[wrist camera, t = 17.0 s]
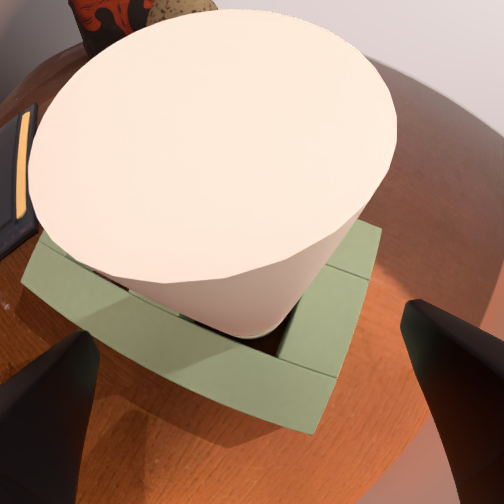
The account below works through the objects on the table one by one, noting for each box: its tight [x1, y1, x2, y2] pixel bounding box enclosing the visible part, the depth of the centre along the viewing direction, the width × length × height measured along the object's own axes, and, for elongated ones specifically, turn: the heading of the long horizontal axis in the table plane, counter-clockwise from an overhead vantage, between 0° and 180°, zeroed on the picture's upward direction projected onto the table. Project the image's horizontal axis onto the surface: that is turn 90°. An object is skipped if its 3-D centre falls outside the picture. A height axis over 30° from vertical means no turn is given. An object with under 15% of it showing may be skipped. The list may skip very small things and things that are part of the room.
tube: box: [28, 9, 397, 340], centre depth 10 cm, size 4×4×15 cm
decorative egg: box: [146, 0, 218, 27], centre depth 20 cm, size 7×7×10 cm
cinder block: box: [21, 219, 382, 435], centre depth 16 cm, size 11×19×4 cm, turn 68°
